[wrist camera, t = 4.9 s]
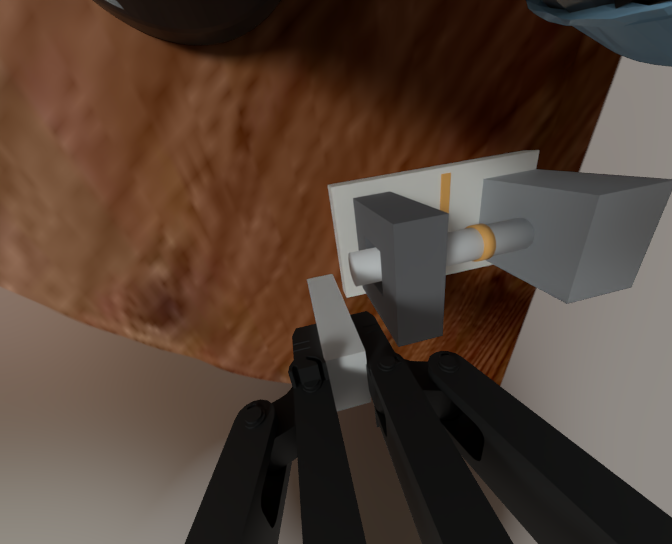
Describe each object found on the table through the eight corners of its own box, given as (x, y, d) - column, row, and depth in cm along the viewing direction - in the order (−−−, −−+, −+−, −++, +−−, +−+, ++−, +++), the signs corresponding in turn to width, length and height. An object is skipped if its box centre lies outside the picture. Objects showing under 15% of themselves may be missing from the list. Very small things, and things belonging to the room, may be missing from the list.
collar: (362, 287, 24) (398, 346, 17) (352, 198, 20) (393, 224, 13) (394, 280, 24) (442, 335, 17) (389, 191, 20) (449, 213, 13)
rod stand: (343, 290, 26) (379, 370, 16) (327, 185, 21) (365, 212, 12) (507, 253, 28) (623, 305, 18) (524, 150, 23) (688, 150, 14)
